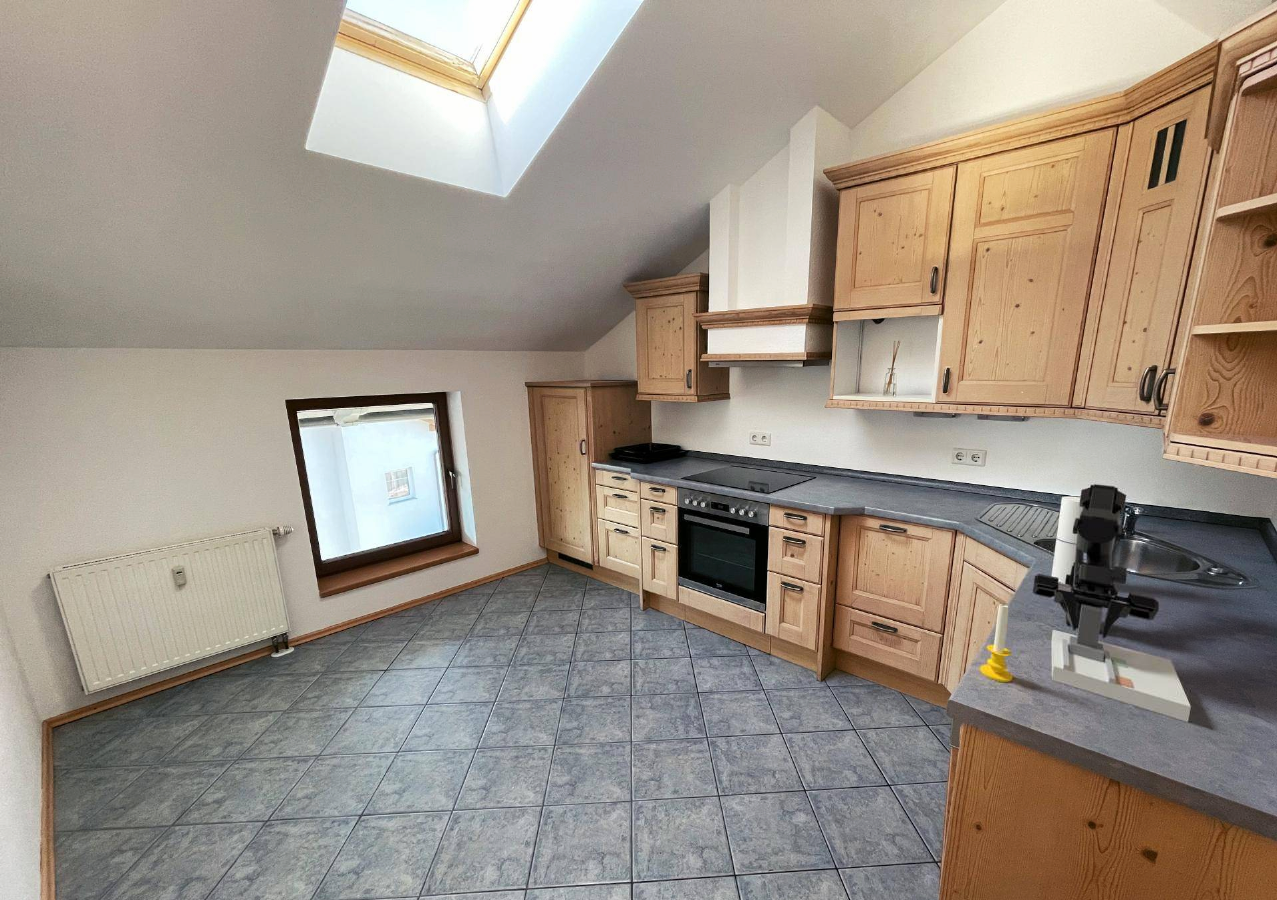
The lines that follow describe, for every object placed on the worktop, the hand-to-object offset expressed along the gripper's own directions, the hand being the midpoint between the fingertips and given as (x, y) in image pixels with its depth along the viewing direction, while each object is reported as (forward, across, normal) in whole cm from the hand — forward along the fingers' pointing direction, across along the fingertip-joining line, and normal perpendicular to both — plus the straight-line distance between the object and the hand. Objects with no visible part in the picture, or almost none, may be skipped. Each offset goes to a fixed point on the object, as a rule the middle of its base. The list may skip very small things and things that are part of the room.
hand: (1088, 633), depth 96 cm
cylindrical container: (-33, -1, +44) cm, 55 cm away
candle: (+15, -14, -4) cm, 21 cm away
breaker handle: (+2, 0, +4) cm, 5 cm away
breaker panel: (+5, +4, +6) cm, 9 cm away
